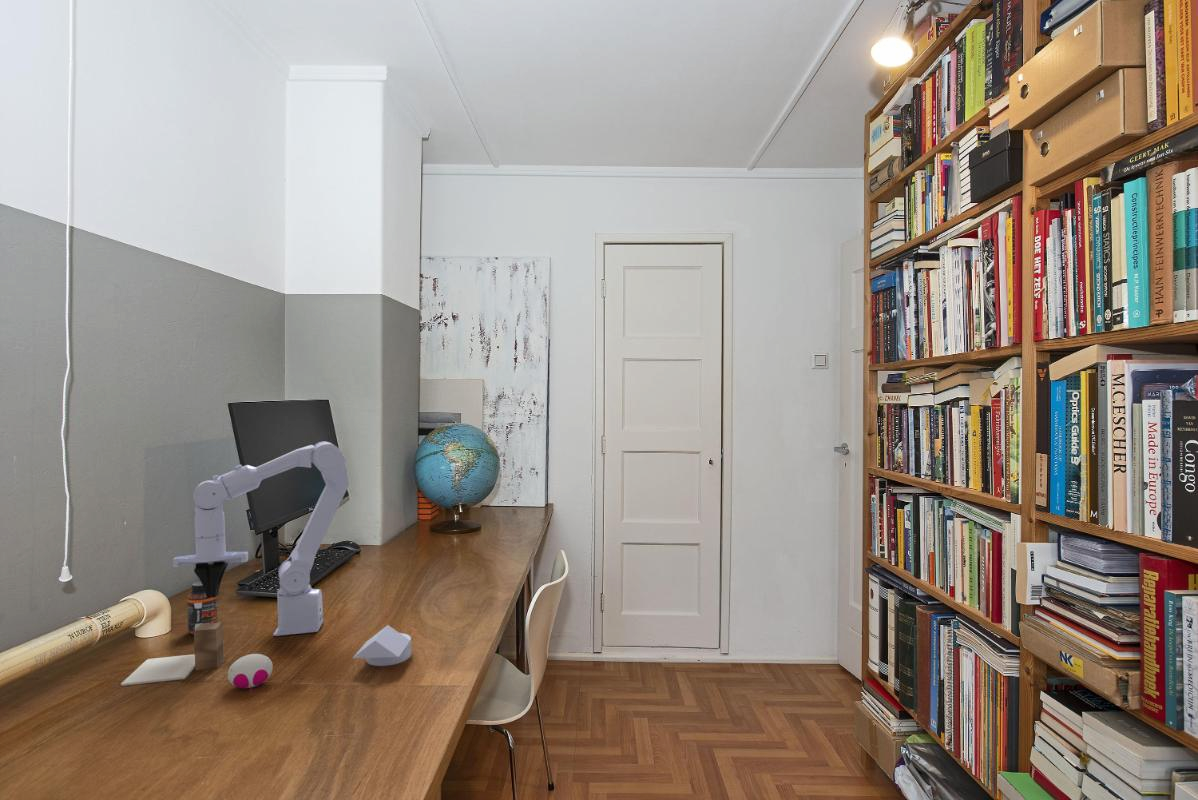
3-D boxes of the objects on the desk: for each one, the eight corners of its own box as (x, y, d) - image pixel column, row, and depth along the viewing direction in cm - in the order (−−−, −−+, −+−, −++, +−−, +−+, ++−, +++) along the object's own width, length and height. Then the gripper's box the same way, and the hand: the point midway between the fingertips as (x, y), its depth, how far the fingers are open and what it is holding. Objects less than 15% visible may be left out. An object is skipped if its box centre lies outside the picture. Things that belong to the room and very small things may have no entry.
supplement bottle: (204, 636, 153) (202, 587, 153) (182, 635, 154) (180, 586, 154) (223, 627, 159) (222, 579, 159) (202, 626, 160) (200, 578, 160)
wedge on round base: (399, 674, 131) (416, 647, 144) (398, 639, 131) (415, 616, 144) (352, 675, 131) (373, 649, 144) (351, 641, 131) (372, 618, 144)
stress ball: (229, 711, 124) (226, 690, 120) (229, 673, 130) (226, 652, 126) (275, 700, 127) (273, 680, 124) (273, 664, 133) (271, 643, 129)
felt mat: (206, 654, 143) (206, 653, 142) (185, 678, 131) (185, 676, 131) (147, 660, 140) (147, 659, 140) (120, 685, 128) (120, 683, 128)
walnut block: (223, 660, 140) (222, 621, 139) (217, 667, 136) (215, 628, 136) (202, 662, 139) (200, 623, 139) (195, 670, 135) (193, 630, 135)
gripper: (251, 529, 154) (253, 588, 155) (180, 533, 151) (182, 594, 151) (242, 535, 147) (244, 597, 148) (168, 540, 144) (170, 603, 144)
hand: (212, 596), depth 149 cm, fingers closed
